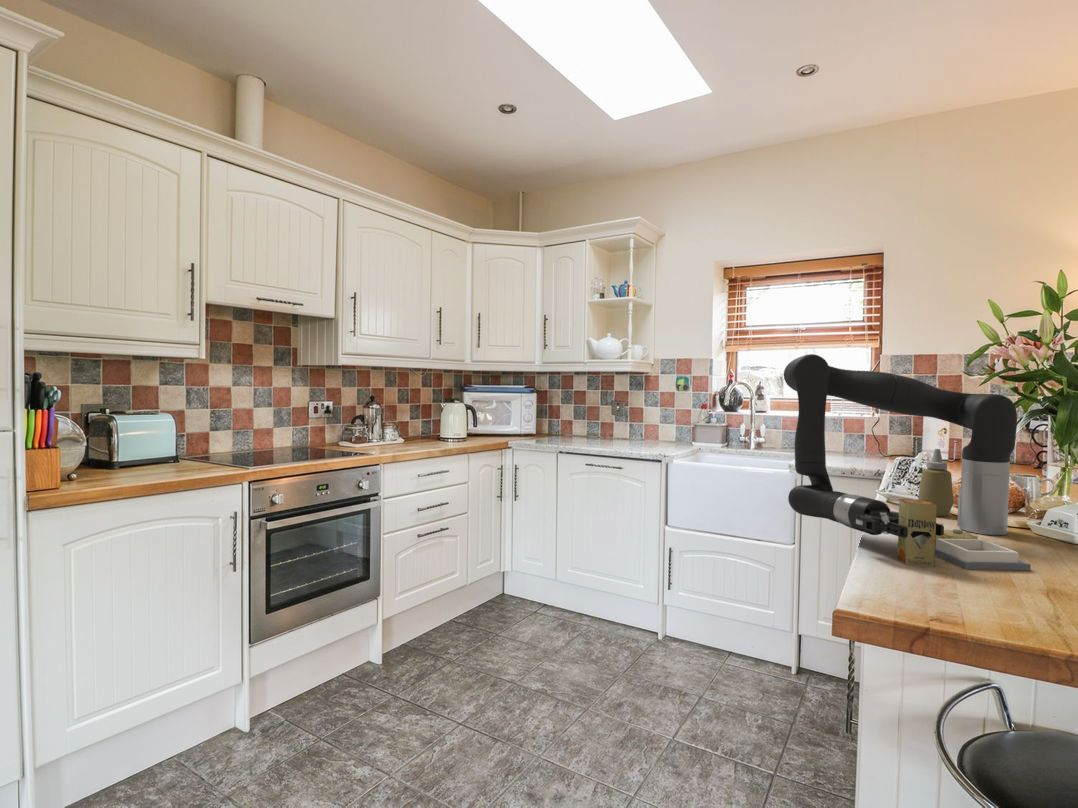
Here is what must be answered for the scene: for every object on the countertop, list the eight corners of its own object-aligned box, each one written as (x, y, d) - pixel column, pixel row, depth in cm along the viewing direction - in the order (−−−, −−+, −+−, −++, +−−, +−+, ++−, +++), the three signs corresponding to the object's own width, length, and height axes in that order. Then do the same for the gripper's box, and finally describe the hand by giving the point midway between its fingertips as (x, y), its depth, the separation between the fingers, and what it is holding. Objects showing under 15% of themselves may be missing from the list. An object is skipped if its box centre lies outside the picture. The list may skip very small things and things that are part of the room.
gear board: (904, 541, 131) (904, 525, 131) (959, 542, 131) (960, 526, 130) (965, 569, 111) (966, 550, 111) (1031, 570, 111) (1032, 551, 110)
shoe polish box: (897, 557, 118) (899, 498, 118) (925, 559, 117) (927, 500, 117) (905, 564, 114) (907, 503, 113) (934, 566, 112) (936, 505, 112)
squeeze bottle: (926, 517, 156) (928, 450, 155) (912, 510, 164) (914, 447, 163) (959, 518, 154) (962, 451, 154) (943, 512, 162) (945, 447, 162)
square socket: (935, 547, 121) (936, 538, 121) (982, 548, 121) (982, 539, 121) (967, 561, 112) (967, 551, 112) (1017, 562, 111) (1018, 552, 111)
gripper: (834, 497, 127) (894, 514, 112) (888, 495, 131) (955, 511, 115) (833, 531, 128) (893, 552, 112) (887, 528, 131) (953, 548, 115)
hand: (924, 531), depth 113 cm, fingers open, 8 cm apart
